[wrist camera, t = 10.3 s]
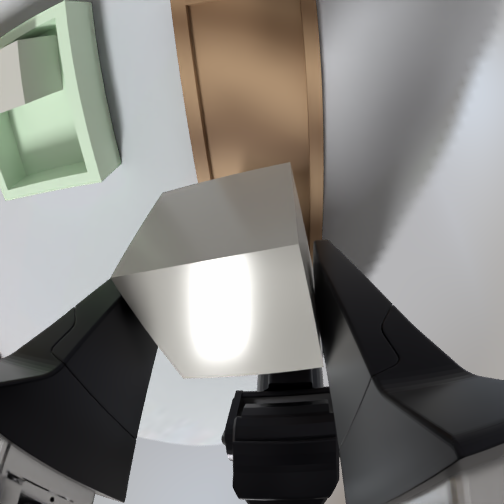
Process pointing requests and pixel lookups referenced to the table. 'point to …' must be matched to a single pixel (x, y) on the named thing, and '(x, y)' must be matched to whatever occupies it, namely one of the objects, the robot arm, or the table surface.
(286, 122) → the walnut tray
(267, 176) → the white small cube
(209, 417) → the table surface
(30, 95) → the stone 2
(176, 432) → the table surface
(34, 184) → the green bin
